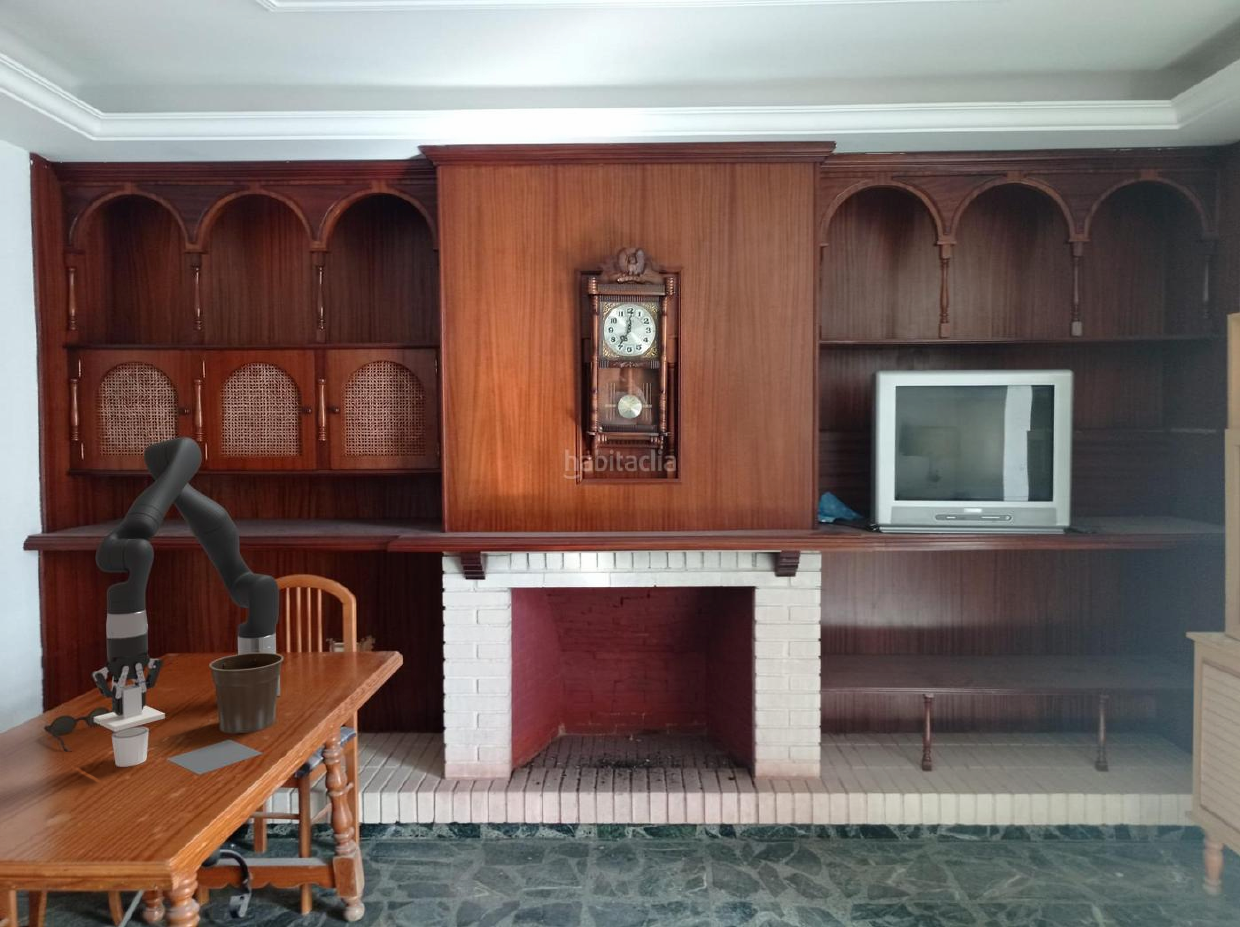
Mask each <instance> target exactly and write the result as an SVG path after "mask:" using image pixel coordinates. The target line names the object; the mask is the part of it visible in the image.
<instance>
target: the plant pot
mask: <svg viewBox="0 0 1240 927" xmlns="http://www.w3.org/2000/svg"><path fill="white" fill-rule="evenodd" d="M283 661H284V656H283V655H281V654H279V653H276V654H275V653H246V654H238V653H237V654H233V655H228V656H223V657H221V658H217V659H215V660H213V661H211V662H210V663H209V669H210V670H211V674H212V682H213V683H214V687H215V694H216V696H215V697H216V702H217V703H216V705H217V715H218V723H219V724H218V725H219V731H220V732H222V733H225V734H230V735H231V734H234V735H235V734H249V733H254V732H258V731H259V732H260V731H262V730H266V729H268V728H270V727H271V726H273V725H274V723H275V722H276V712H277V698H278V696H277V689H278V678H279V675H280V676H281V668H282V662H283Z"/></svg>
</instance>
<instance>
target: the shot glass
mask: <svg viewBox="0 0 1240 927" xmlns="http://www.w3.org/2000/svg"><path fill="white" fill-rule="evenodd" d="M149 730H150V729H149V728H148V727H147V726H146V727H145V726H134V727H131V728H127V729H123V730H119V731H115V732H114V733H112V734H111V741H112V748H113V756H114V762H115V763H114V764H115V766H116V767H121V768H123V767H124V768H126V767H132V766H137V765H140V764H142V763H144V762H145V761H147V759H148V758H147V755H148V744H149Z"/></svg>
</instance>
